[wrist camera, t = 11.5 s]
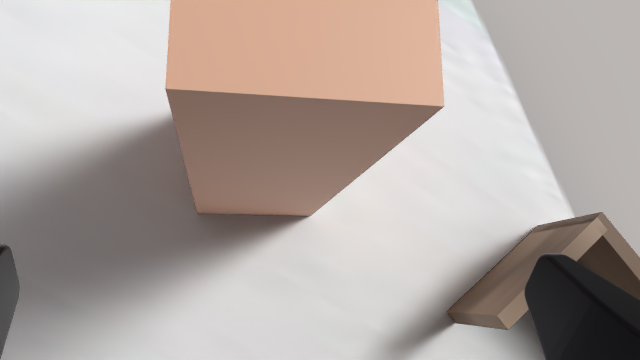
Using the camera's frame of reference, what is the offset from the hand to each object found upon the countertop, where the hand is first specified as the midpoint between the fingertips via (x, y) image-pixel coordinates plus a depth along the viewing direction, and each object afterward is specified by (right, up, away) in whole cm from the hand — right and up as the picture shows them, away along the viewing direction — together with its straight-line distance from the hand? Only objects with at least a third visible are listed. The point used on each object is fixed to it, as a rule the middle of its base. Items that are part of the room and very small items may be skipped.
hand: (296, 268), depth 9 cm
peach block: (-2, +2, +12) cm, 13 cm away
